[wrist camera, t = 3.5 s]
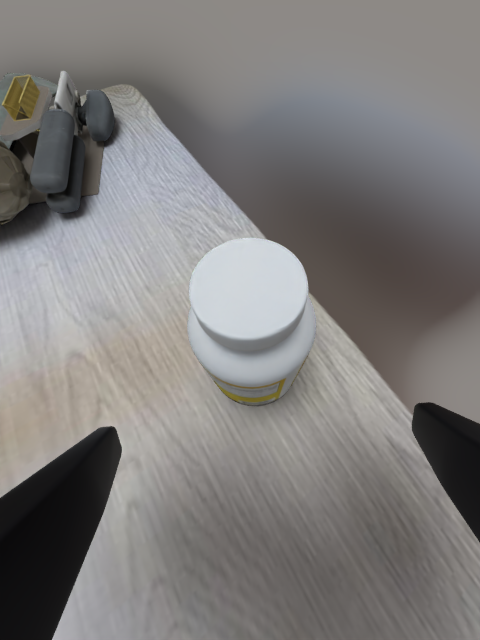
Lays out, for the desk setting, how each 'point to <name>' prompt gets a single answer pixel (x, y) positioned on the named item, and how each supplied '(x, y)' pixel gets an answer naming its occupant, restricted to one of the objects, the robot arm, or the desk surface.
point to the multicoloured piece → (12, 185)
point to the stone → (3, 86)
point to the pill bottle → (251, 319)
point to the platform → (25, 127)
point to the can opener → (68, 143)
